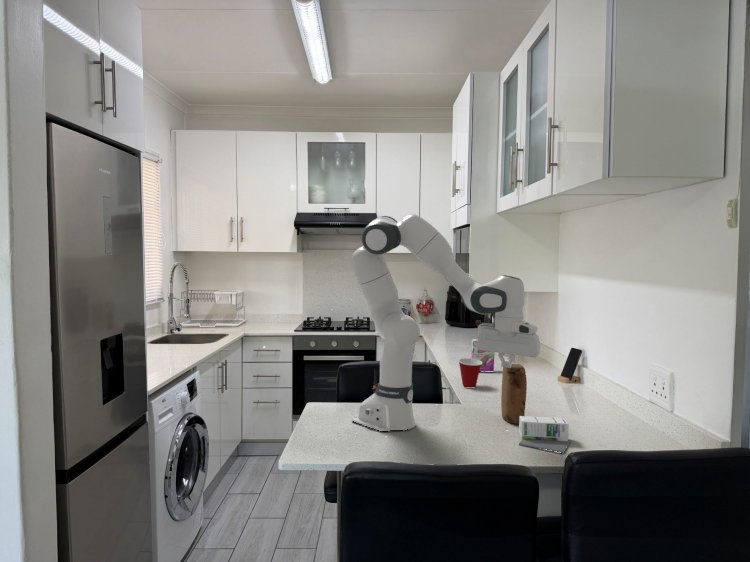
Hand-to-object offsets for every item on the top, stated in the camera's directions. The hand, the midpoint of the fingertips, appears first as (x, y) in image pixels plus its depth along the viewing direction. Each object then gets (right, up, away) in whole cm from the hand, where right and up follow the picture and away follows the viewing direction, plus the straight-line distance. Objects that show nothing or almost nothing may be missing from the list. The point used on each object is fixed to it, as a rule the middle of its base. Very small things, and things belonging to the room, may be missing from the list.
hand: (506, 367), depth 161 cm
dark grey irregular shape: (+29, -16, +157) cm, 161 cm away
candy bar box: (+12, -19, +92) cm, 95 cm away
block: (+7, -22, +15) cm, 28 cm away
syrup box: (+4, -19, -2) cm, 19 cm away
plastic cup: (0, -20, +61) cm, 64 cm away
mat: (+10, -23, -7) cm, 26 cm away
